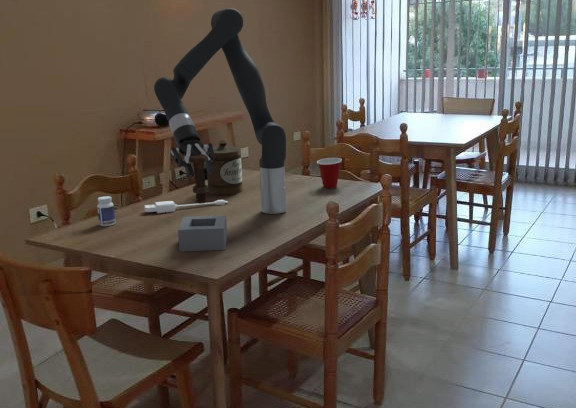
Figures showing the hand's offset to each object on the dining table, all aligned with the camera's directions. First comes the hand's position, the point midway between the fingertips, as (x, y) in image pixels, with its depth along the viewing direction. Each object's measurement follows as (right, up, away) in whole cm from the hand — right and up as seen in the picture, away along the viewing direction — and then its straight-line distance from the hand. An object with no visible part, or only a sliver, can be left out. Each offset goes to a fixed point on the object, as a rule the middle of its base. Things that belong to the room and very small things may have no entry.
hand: (201, 173), depth 186 cm
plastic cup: (+45, -2, +75) cm, 87 cm away
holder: (0, -22, +8) cm, 23 cm away
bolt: (-1, -9, +4) cm, 10 cm away
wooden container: (0, -4, +73) cm, 73 cm away
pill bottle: (-38, -17, +30) cm, 52 cm away
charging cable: (-13, -12, +48) cm, 51 cm away
